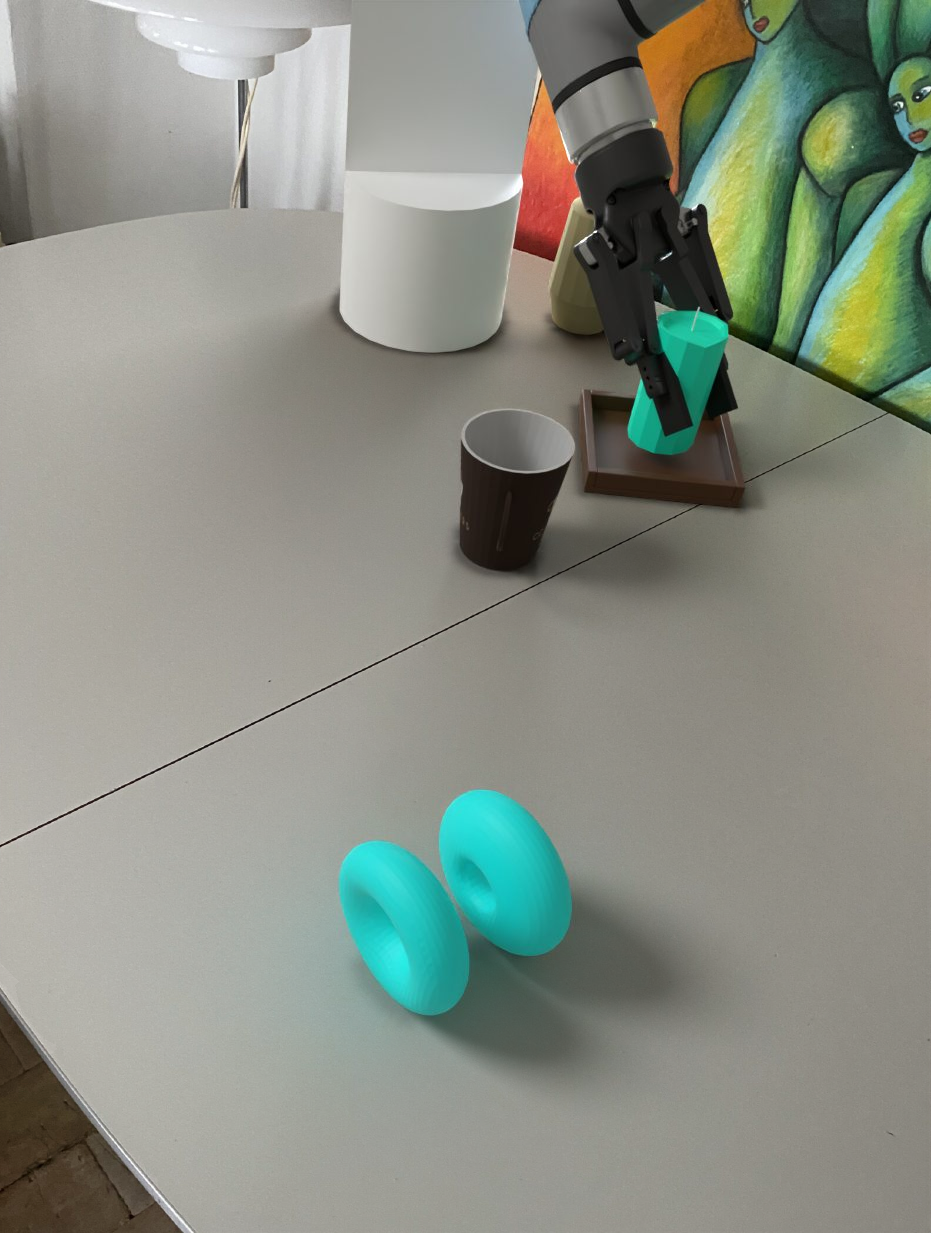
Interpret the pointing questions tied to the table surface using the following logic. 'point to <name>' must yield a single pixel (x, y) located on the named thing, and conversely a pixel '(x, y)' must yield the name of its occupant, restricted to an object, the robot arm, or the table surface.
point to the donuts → (482, 886)
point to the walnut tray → (655, 457)
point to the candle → (681, 377)
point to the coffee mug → (509, 484)
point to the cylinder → (433, 168)
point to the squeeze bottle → (573, 278)
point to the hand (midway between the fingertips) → (701, 421)
